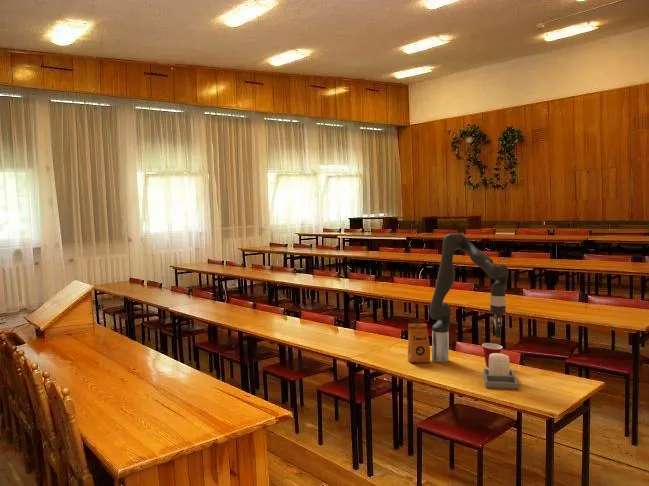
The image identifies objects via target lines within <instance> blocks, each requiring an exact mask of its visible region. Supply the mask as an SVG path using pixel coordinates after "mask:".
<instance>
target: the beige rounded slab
mask: <svg viewBox="0 0 649 486" xmlns="http://www.w3.org/2000/svg"><path fill="white" fill-rule="evenodd" d="M510 364H511V363H510V356H509V355H508V354H503V353H501V352H500V353H493V354H490V356H489V367H488V369H489V375H496V376H509V370H510Z"/></svg>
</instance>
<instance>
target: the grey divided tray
mask: <svg viewBox="0 0 649 486" xmlns="http://www.w3.org/2000/svg"><path fill="white" fill-rule="evenodd" d="M482 370H483V371H482V372H483V380H484V386H485V389H496V390H497V389H499V390H511V391H512V390H513V391H514V390H517V391H518V390H519V382H518V380H517V377H516V374H515V370H512V369H511V370H510V369H509V376H496V375H489V368H483V369H482Z"/></svg>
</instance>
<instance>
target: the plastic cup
mask: <svg viewBox="0 0 649 486" xmlns="http://www.w3.org/2000/svg"><path fill="white" fill-rule="evenodd" d="M481 345H482V350H483V356H484V361H485V366H486V368H489V356H490V354H493V353H500V354H501V351H502V349H503V346H502V345H500V344H497V343H493V342H492V343H491V342H483V343H482V344H481Z"/></svg>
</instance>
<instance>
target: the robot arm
mask: <svg viewBox="0 0 649 486" xmlns="http://www.w3.org/2000/svg"><path fill="white" fill-rule="evenodd" d="M441 250H442V251H441V258H440V264H439V269H438V273H437V277H436V282H435V283H436V284H435V288H434V292H433V295H432V299H431V302H430V305H429V308H428V309H429V310H428V315H429V318H431V319H432V320H433V321H436V322H435V323H434V324H433V325H432V327H431V329H432V331H431V332H432V333H431V336H432V337H431V338H432V339H431V340H432V342H431V354H432V355H431V361H432V362H436V363H447V362H449V360H450V359H449V357H450V353H449V351H450V349H449V348H450V347H449V343H450V342H449V341H450V340H449V337H450V336H449V335H450V334H449V333H450V332H449V329H450V327H451V312H452V311H451V308H450V307H451V306H450V305H449V303H448V302H447V303H446V302H444V300H445V297H446V296H447V294H448V293H449V292H450V291H451V289H452V287H453V285H454V283H455V277H456V270H455V266H454V265H455V264H454V262H453V258H454V253H455V251H458V250H461V251H462V252H465V253H466V254H467V255H468V256H469V258H470V259H471V262H473V264H475V266H476V265H477V266H478V267H479V268H481V269H482V270H483V272H484V273H485V274H486V275H487V277H489V278H490V279H493V280H495V282H494V283H492V284H491V287H490V299H489V301H490V303H489V308H490V309H489V310H490V314H493V324H494V325H493V326H494V333H495V338H499V339H500V338H501V335H502V333H501V332H502V328H503V327H502V326H503V317H502V315H505V314H506V310H507V308H506V306H507V304H506V303H507V300H506V287H507V283H508V279H509V275H510V274H509V272H510V271H509V269H508V266H506V265H504V264H498V265H496V264H494V261H493V259H492V258H491V257H489V256H488V255H486V254H485V253H484V252H483V251H481V250H480V249H478V248H477V247H476V246H475V245H474V244H473V243H472V242H471V241H470V240H468V238H467V237H466V236H465V235H464V234H463V233H460V232H456V233H455V232H454V233H453V232H451V233H448V234H446V235H445V236H444V238H443V239H442V249H441Z"/></svg>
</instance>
